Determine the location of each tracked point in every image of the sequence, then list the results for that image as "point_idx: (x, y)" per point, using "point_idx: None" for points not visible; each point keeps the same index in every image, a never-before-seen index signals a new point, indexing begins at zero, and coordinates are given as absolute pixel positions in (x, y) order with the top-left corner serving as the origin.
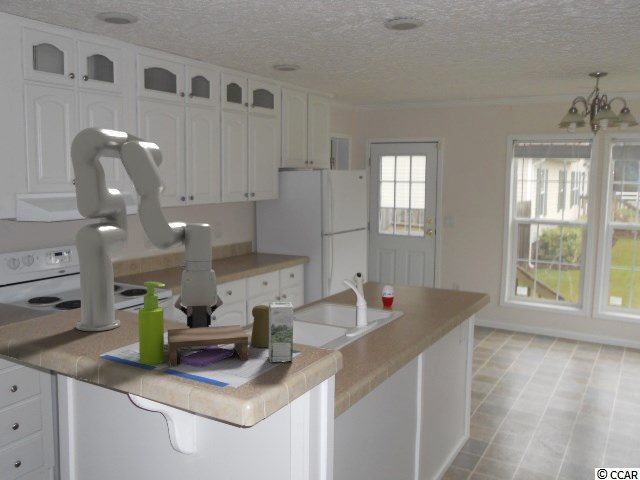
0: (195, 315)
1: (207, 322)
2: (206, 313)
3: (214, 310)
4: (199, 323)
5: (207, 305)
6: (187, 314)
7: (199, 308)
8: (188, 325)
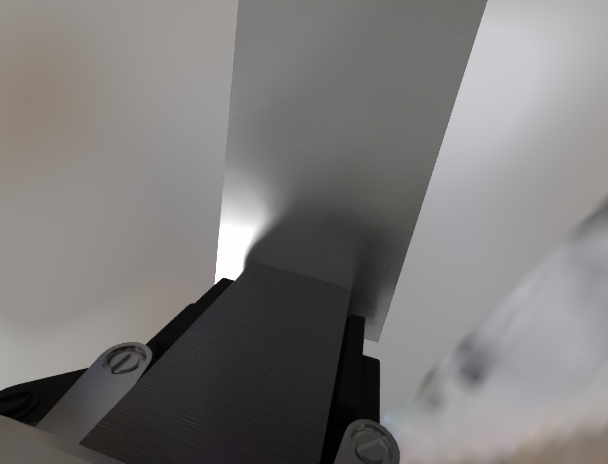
0: (294, 389)
1: (209, 304)
2: (161, 358)
3: (56, 376)
4: (280, 316)
5: (42, 433)
6: (384, 452)
7: (203, 455)
8: (370, 358)
